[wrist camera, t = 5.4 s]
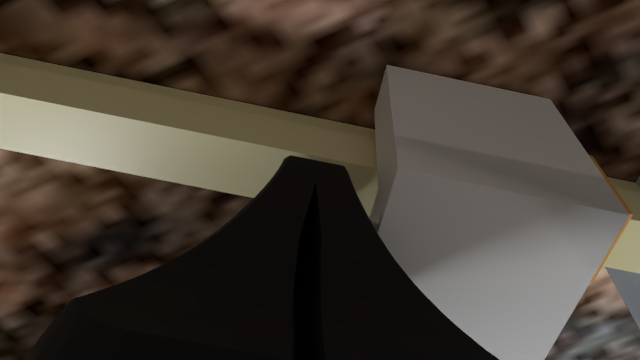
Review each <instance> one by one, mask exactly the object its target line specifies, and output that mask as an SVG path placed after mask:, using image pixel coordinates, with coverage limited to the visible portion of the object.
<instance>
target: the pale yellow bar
mask: <svg viewBox="0 0 640 360" xmlns="http://www.w3.org/2000/svg"><path fill="white" fill-rule="evenodd" d="M0 149H5V150H10V151H15V152H21V153H26V154H31V155H36V156H41V157H46V158H51V159H56V160H61V161H67V162H72V163H77V164H82V165H87V166H92V167H97V168H102V169H107V170H113V171H118V172H123V173H128V174H133V175H138V176H143V177H148V178H153V179H159V180H164V181H169V182H174V183H179V184H184V185H189V186H194V187H200V188H205V189H210V190H215V191H220V192H225V193H230V194H235V195H240V196H246V197H251V198H255V197H256V195H257V194H258V193H259V192H260V191H261V190H262V189H263V188H264V187H265V186H266V184H267V183H268V182H269V181H270V180H271V178H272V177H273V176H274V174H275V173H276V172H277V170H278V169H279V167H280V166H281V164H282V162H283V160H284V158H286V157H288V156H290V155H292V156H297V157H302V158H307V159H312V160H317V161H322V162H327V163H332V164H337V165H342V166H345V168H346V169H347V171H348V173H349V176H350V179H351V181H352V184H353V186H354V188H355V191H356V193H357V195H358V197H359V199H360V201H361V203H362V205H363V207H364V209H365V211H366V213H367V215H368V217H369V218H370V215H371V212H372V208H373V205H374V202H375V198H376V195H377V192H378V175H377V156H376V136H375V129H370V128H365V127H360V126H355V125H351V124H346V123H341V122H336V121H331V120H326V119H321V118H316V117H311V116H306V115H302V114H297V113H292V112H287V111H282V110H277V109H272V108H267V107H262V106H257V105H253V104H248V103H243V102H238V101H233V100H228V99H223V98H218V97H213V96H209V95H204V94H199V93H194V92H189V91H184V90H179V89H174V88H169V87H164V86H160V85H155V84H150V83H145V82H140V81H135V80H130V79H125V78H120V77H115V76H111V75H106V74H101V73H96V72H91V71H86V70H81V69H76V68H71V67H67V66H62V65H57V64H52V63H47V62H42V61H37V60H32V59H27V58H22V57H18V56H13V55H8V54H3V53H0ZM607 178H608V179H609V180H610V182H611V183H612V185H613V186H614V188H615V189H616V190H617V192H618V193H619V195H620V196H621V198H622V199H623V200H624V202H625V203H626V205H627V206H628V208H629V209H630V211H631V212H632V213H633V216H632V217H631V219H630V221H629V222H628V224H627V226H626V227H625V229H624V231H623V232H622V234H621V236H620V237H619V239H618V241H617V242H616V244H615V246H614V248H613V249H612V251H611V253H610V254H609V256H608V258H607V259H606V261H605V263H604V264H603V267H608V268H614V269H619V270H624V271H629V272H634V273H639V274H640V188H639V187H638V186H637V184H636V183H635V182H630V181H625V180H620V179H615V178H610V177H607Z"/></svg>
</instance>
